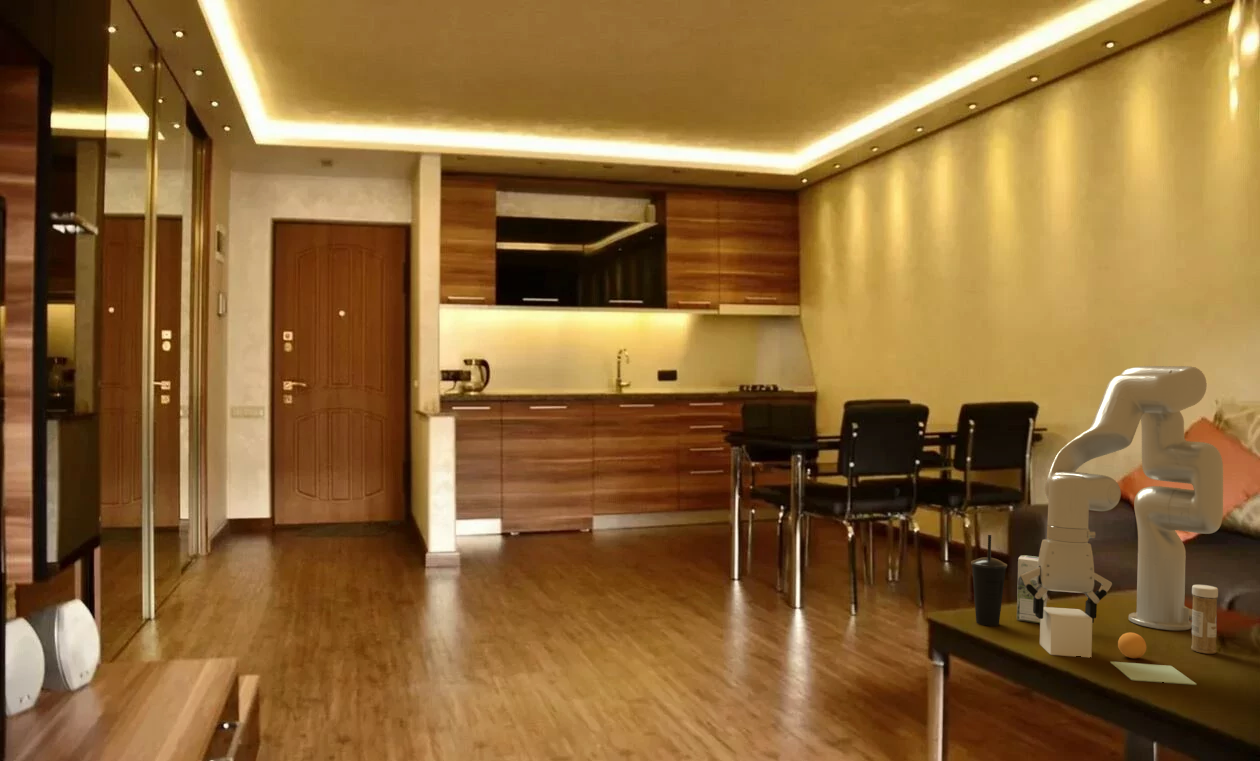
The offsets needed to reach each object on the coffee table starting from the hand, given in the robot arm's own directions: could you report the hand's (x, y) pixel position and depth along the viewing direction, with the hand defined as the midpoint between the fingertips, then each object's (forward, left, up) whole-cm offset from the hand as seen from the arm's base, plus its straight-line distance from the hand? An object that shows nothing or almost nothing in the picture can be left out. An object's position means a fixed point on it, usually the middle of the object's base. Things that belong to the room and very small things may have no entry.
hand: (1064, 619), depth 186 cm
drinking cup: (+11, -19, -7) cm, 23 cm away
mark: (-12, +12, -7) cm, 18 cm away
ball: (-12, +2, -4) cm, 13 cm away
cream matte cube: (0, 0, -7) cm, 6 cm away
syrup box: (0, -25, -7) cm, 26 cm away
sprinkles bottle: (-29, -7, -7) cm, 31 cm away
